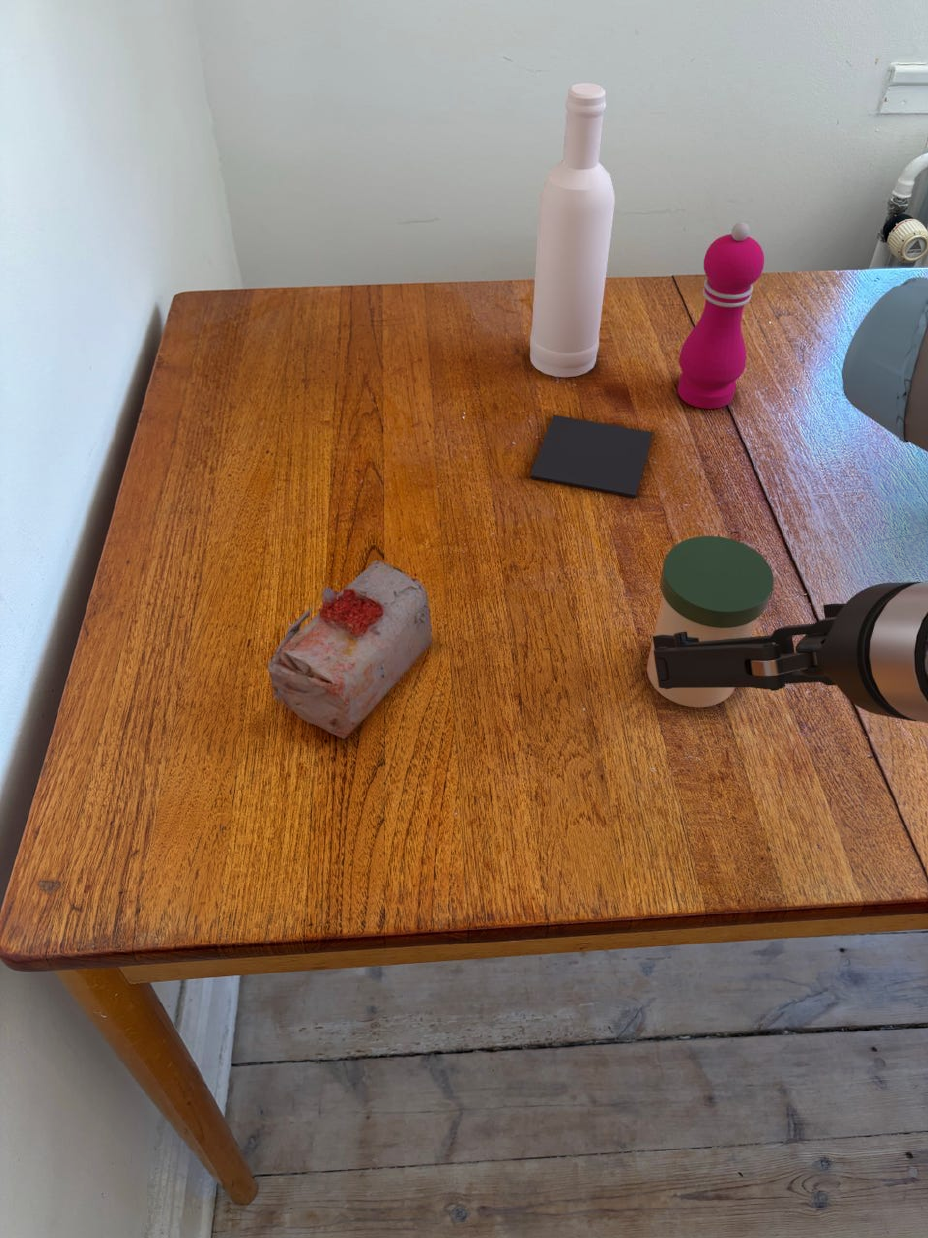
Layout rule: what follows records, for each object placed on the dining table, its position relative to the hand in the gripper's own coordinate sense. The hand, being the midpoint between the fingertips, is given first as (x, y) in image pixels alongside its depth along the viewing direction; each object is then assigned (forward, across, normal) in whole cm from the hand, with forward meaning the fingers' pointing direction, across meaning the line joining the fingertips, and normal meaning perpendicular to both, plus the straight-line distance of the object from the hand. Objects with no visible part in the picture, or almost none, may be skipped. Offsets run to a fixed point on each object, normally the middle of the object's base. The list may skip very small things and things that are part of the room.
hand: (746, 637), depth 75 cm
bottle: (+46, +4, +31) cm, 56 cm away
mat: (+33, +2, +18) cm, 38 cm away
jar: (+12, 0, -4) cm, 12 cm away
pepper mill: (+39, +18, +24) cm, 49 cm away
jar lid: (+4, 0, +5) cm, 6 cm away
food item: (+16, -28, 0) cm, 32 cm away
